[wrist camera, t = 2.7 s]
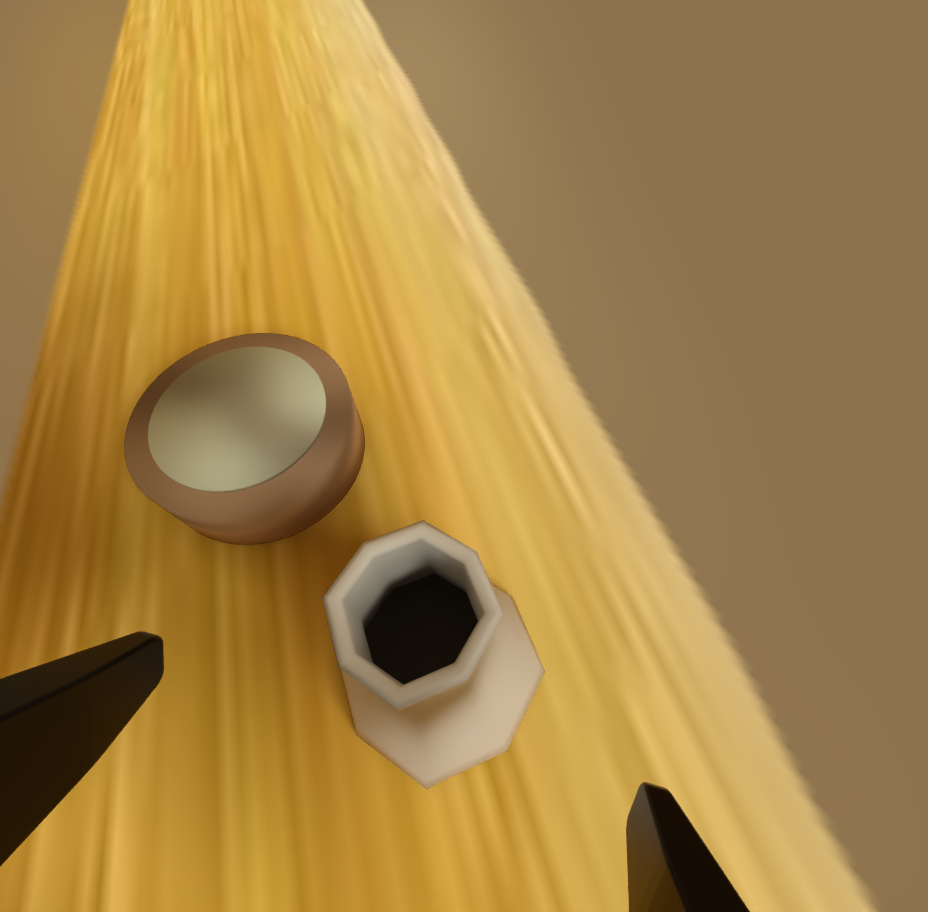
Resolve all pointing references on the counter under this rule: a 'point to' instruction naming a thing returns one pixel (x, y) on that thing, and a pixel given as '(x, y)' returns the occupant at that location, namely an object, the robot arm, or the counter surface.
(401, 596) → the flask
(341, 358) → the counter surface
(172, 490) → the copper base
